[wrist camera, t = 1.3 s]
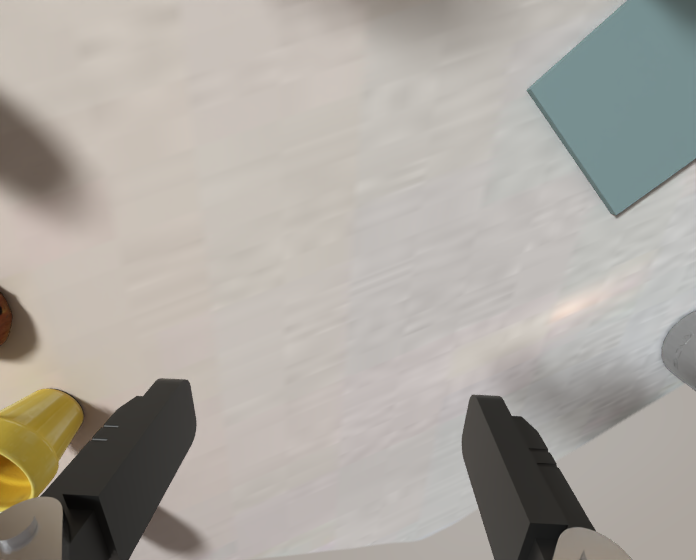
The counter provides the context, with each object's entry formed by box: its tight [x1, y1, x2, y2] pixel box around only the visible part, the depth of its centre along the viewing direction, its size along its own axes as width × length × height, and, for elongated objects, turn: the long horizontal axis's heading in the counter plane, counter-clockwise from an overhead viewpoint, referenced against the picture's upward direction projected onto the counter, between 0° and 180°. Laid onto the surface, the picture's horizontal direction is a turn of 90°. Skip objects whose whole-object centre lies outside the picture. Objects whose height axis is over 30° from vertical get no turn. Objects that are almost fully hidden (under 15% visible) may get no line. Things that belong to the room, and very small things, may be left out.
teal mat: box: [527, 0, 696, 215], centre depth 29 cm, size 14×14×1 cm
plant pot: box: [0, 389, 83, 512], centre depth 41 cm, size 10×10×10 cm
